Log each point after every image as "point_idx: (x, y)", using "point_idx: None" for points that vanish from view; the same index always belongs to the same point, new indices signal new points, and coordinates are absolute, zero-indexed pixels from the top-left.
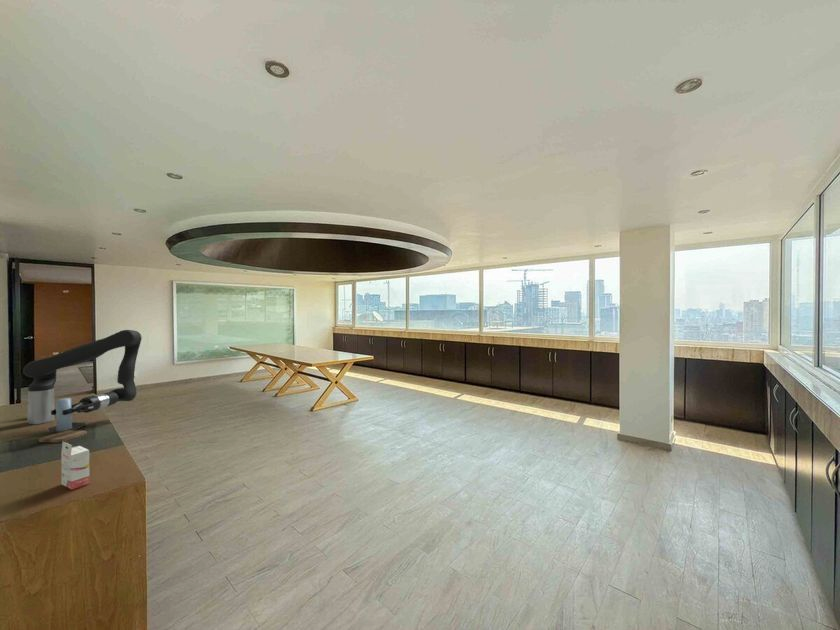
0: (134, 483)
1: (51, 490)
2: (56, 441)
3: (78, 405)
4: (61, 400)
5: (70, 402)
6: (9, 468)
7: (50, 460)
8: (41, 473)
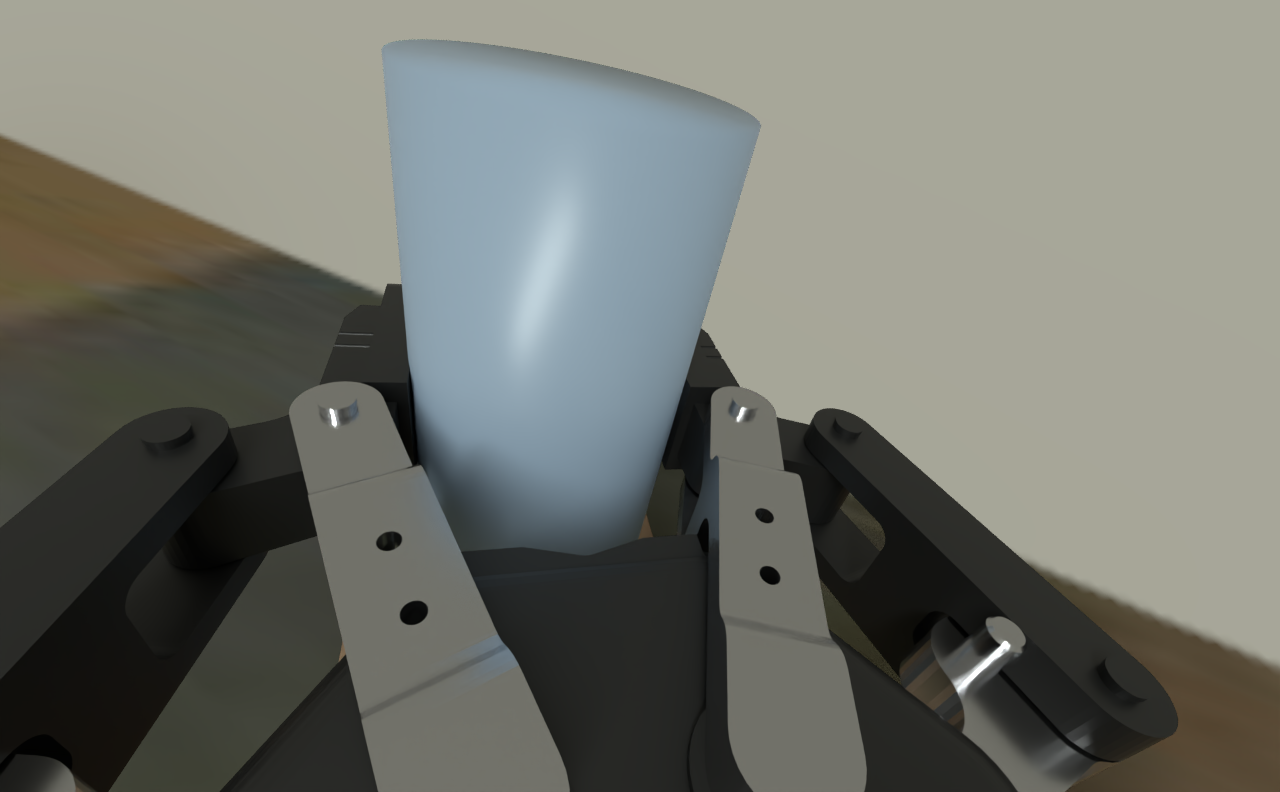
0: None
1: None
2: None
3: (311, 492)
4: (482, 44)
5: (401, 212)
6: (294, 261)
7: (101, 309)
8: (11, 221)
